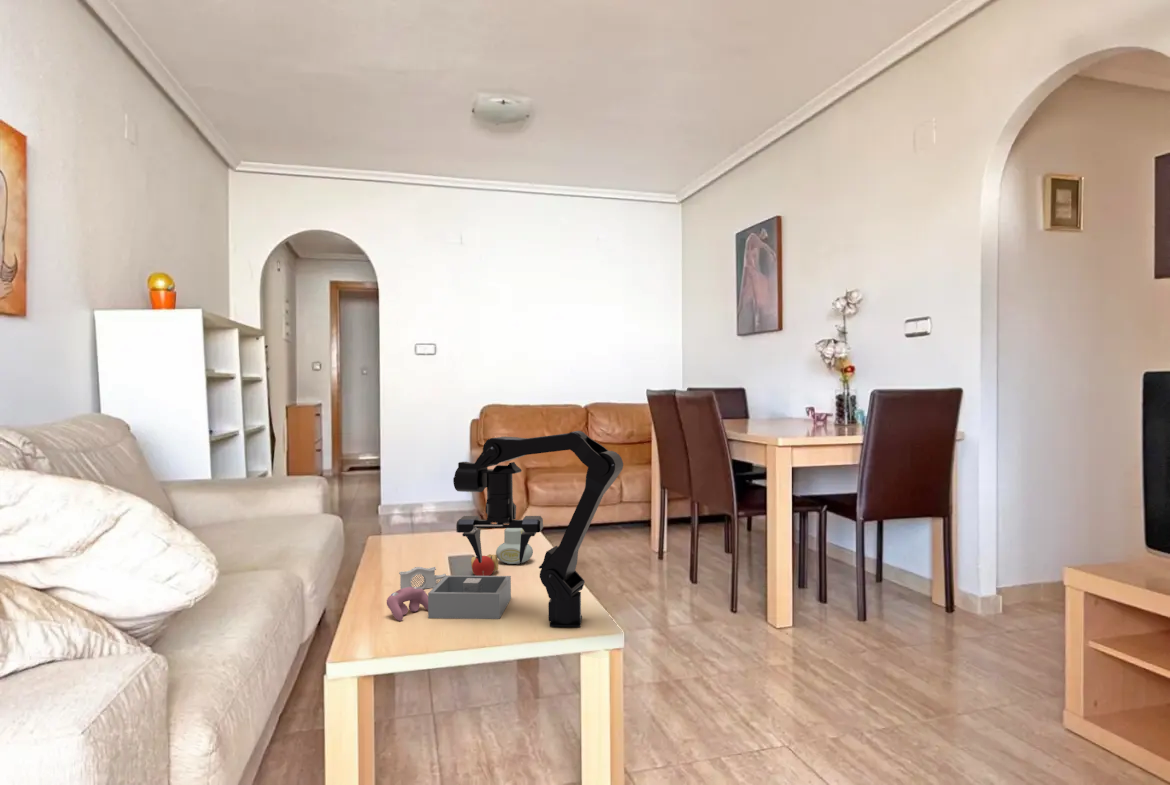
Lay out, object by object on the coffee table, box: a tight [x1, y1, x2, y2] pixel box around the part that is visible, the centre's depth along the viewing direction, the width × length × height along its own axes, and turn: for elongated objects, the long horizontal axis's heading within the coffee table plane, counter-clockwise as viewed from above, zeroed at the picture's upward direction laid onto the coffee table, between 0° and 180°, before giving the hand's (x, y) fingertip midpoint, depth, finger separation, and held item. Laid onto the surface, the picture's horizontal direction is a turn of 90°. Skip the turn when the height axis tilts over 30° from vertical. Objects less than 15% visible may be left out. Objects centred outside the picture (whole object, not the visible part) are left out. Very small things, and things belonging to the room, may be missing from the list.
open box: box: [427, 575, 512, 620], centre depth 157 cm, size 16×15×6 cm
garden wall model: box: [398, 566, 447, 590], centre depth 173 cm, size 12×2×6 cm, turn 121°
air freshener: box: [495, 528, 534, 565], centre depth 200 cm, size 11×8×10 cm
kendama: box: [470, 553, 499, 576], centre depth 189 cm, size 8×6×18 cm
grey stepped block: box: [463, 578, 482, 593], centre depth 156 cm, size 4×8×6 cm, turn 177°
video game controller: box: [386, 586, 428, 622], centre depth 153 cm, size 10×5×7 cm, turn 141°
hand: (500, 562), depth 151 cm, fingers open, 9 cm apart
